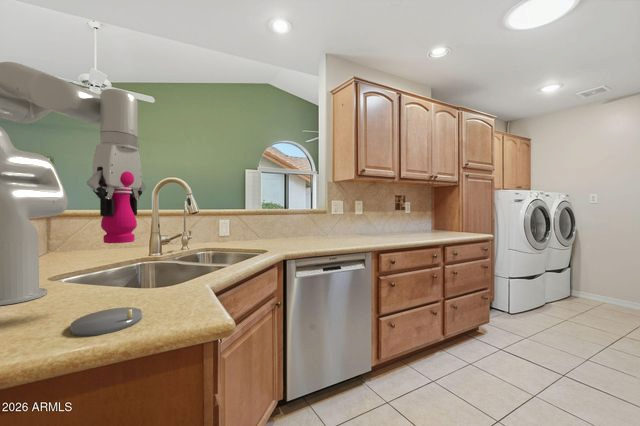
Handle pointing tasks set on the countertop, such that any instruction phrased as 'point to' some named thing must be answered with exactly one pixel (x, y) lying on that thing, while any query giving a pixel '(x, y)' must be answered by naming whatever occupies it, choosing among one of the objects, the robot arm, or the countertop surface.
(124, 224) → the pepper mill
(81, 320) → the grey flat disc
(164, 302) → the countertop surface
